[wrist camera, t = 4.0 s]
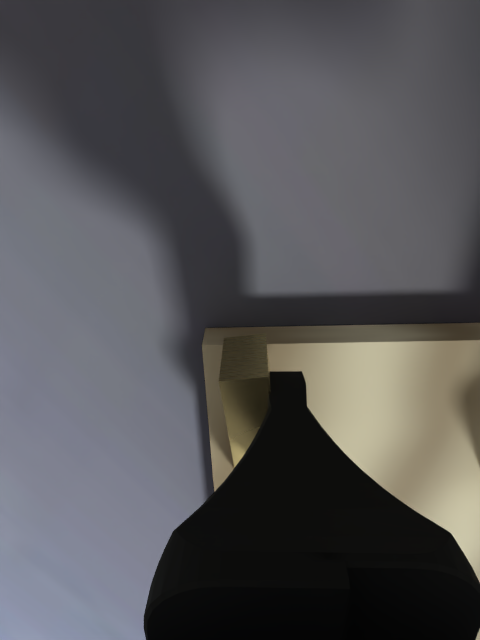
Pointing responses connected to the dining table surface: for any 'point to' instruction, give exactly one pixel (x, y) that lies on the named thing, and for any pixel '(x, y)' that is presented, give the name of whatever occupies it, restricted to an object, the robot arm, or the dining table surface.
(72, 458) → the dining table surface
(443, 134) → the dining table surface
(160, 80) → the dining table surface
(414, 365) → the base
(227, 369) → the knob
